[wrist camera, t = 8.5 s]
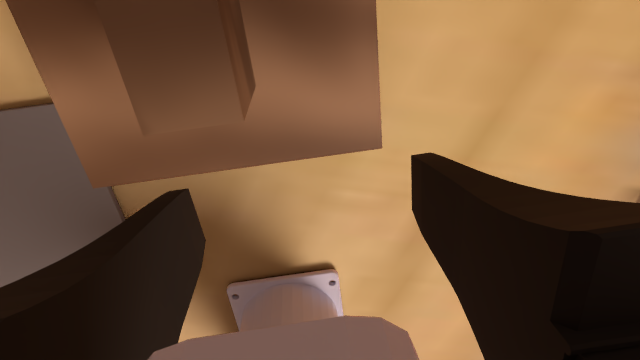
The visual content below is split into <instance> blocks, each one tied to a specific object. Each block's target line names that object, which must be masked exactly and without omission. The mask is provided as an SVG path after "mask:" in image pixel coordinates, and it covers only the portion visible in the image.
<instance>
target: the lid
mask: <svg viewBox="0 0 640 360" xmlns="http://www.w3.org/2000/svg"><path fill="white" fill-rule="evenodd" d="M6 2H7V4H8V7H9V9H10V11H11V13H12V15H13V17H14V19H15V22H16V24H17V26H18V28H19V30H20V32H21V35H22V37H23V39H24V41H25V43H26V45H27V47H28V50H29V52H30V54H31V56H32V58H33V60H34V62H35V65H36V67H37V69H38V71H39V73H40V75H41V78H42V80H43V82H44V84H45V86H46V88H47V90H48V93H49V95H50V97H51V99H52V101H53V103H54V105H55V108H56V110H57V112H58V114H59V116H60V118H61V121H62V123H63V125H64V127H65V129H66V131H67V133H68V136H69V138H70V140H71V142H72V144H73V146H74V148H75V151H76V153H77V155H78V157H79V159H80V161H81V164H82V166H83V168H84V170H85V172H86V174H87V176H88V179H89V181H90V183H91V185H92V187H93V189H94V188H101V187H108V186H115V185H122V184H129V183H137V182H144V181H151V180H158V179H165V178H173V177H180V176H187V175H194V174H201V173H208V172H216V171H223V170H230V169H237V168H244V167H252V166H259V165H266V164H273V163H280V162H287V161H295V160H302V159H309V158H316V157H323V156H331V155H338V154H345V153H352V152H359V151H366V150H374V149H381V148H382V132H381V109H380V86H379V63H378V40H377V17H376V0H6Z"/></svg>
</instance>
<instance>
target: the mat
mask: <svg viewBox="0 0 640 360" xmlns="http://www.w3.org/2000/svg"><path fill="white" fill-rule="evenodd" d="M123 221H125V218H124V215H123V213H122V211H121V208H120V206H119V204H118V202H117V199H116V197H115V195H114V192H113V190H112V188H111V186H108V187H101V188H94V189H93V187H92V185H91V183H90V181H89V179H88V176H87V174H86V172H85V170H84V168H83V166H82V164H81V161H80V159H79V157H78V155H77V153H76V151H75V148H74V146H73V144H72V142H71V140H70V138H69V136H68V133H67V131H66V129H65V127H64V125H63V123H62V121H61V118H60V116H59V114H58V112H57V110H56V108H55V105H54V103H48V104H41V105H34V106H26V107H19V108H12V109H5V110H0V287H3V286H5V285H7V284H10V283H12V282H14V281H17V280H19V279H21V278H23V277H25V276H27V275H30V274H32V273H34V272H36V271H38V270H40V269H42V268H45V267H47V266H49V265H51V264H53V263H55V262H57V261H59V260H61V259H63V258H64V257H66V256H68V255H70V254H72V253H74V252H76V251H77V250H79V249H81V248H83V247H84V246H86V245H88V244H89V243H91V242H93V241H94V240H96V239H97V238H99V237H101V236H102V235H104V234H105V233H107V232H108V231H110V230H111V229H113V228H114V227H116V226H117V225H119V224H120V223H122V222H123Z"/></svg>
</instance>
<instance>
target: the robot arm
mask: <svg viewBox="0 0 640 360" xmlns="http://www.w3.org/2000/svg"><path fill="white" fill-rule="evenodd" d="M411 174H412V211H413V213H414V216H415V219H416V221H417V224H418V226H419V229H420V231H421V233H422V235H423V237H424V239H425V241H426V242H427V244H428V246H429V247H430V249H431V251H432V253H433V254H434V256H435V258H436V259H437V261H438V263H439V265H440V266H441V268H442V270H443V271H444V273H445V275H446V276H447V278H448V280H449V282H450V283H451V285H452V287H453V289H454V291H455V292H456V294H457V296H458V298H459V301H460V303H461V305H462V307H463V310H464V312H465V314H466V316H467V319H468V321H469V323H470V325H471V328H472V330H473V333H474V335H475V337H476V340H477V342H478V345H479V347H480V349H481V352H482V354H483V357H484V359H485V360H640V203H631V202H620V201H610V200H600V199H592V198H585V197H578V196H572V195H566V194H561V193H555V192H550V191H545V190H540V189H536V188H532V187H528V186H524V185H520V184H517V183H513V182H510V181H507V180H504V179H501V178H498V177H495V176H492V175H489V174H486V173H483V172H480V171H478V170H475V169H473V168H470V167H468V166H465V165H463V164H460V163H458V162H455V161H453V160H450V159H448V158H445V157H443V156H440V155H437V154H434V153H424V154H417V155H411ZM205 241H206V240H205V237H204V234H203V231H202V228H201V225H200V222H199V219H198V216H197V213H196V210H195V207H194V204H193V201H192V198H191V195H190V192H189V189H182V190H175V191H169V192H167V193H165V194H163V195H161V196H160V197H158V198H157V199H155V200H154V201H152V202H151V203H149V204H148V205H146V206H145V207H143V208H142V209H141V210H139V211H138V212H136V213H135V214H133V215H132V216H131V217H129V218H128V219H126V220H125V221H123V222H122V223H120V224H119V225H117V226H116V227H114V228H113V229H111V230H110V231H108V232H107V233H105V234H104V235H102V236H101V237H99V238H97V239H96V240H94V241H93V242H91V243H89V244H88V245H86V246H84V247H83V248H81V249H79V250H77V251H76V252H74V253H72V254H70V255H68V256H66V257H64V258H63V259H61V260H59V261H57V262H55V263H53V264H51V265H49V266H47V267H45V268H42V269H40V270H38V271H36V272H34V273H32V274H30V275H27V276H25V277H23V278H21V279H19V280H17V281H14V282H12V283H10V284H7V285H5V286H3V287H0V360H419V358H418V355H417V353H416V350H415V348H414V346H413V343H412V341H411V339H410V337H409V334H408V332H407V331H405V330H403V329H401V328H399V327H398V326H396V325H394V324H392V323H390V322H388V321H386V320H385V319H383V318H380V317H366V316H343V309H342V301H341V293H340V285H339V277H338V272H337V271H336V270H334V269H328V270H321V271H314V272H307V273H300V274H293V275H286V276H279V277H272V278H265V279H258V280H251V281H244V282H237V283H231V284H229V285H228V287H227V294H228V298H229V301H230V304H231V307H232V310H233V313H234V316H235V320H236V323H237V326H238V329H239V332H233V333H226V334H220V335H213V336H206V337H200V338H193V339H188V340H185V341H183V342H180V343H178V340H179V336H180V333H181V329H182V326H183V323H184V320H185V316H186V313H187V310H188V307H189V304H190V301H191V298H192V295H193V292H194V289H195V286H196V283H197V280H198V276H199V273H200V270H201V267H202V261H203V255H204V248H205ZM331 280H334V282H330V281H331ZM234 294H237V296H235V295H234Z"/></svg>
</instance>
